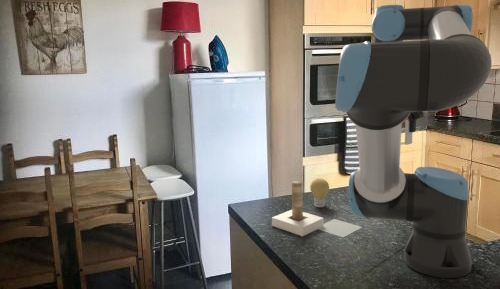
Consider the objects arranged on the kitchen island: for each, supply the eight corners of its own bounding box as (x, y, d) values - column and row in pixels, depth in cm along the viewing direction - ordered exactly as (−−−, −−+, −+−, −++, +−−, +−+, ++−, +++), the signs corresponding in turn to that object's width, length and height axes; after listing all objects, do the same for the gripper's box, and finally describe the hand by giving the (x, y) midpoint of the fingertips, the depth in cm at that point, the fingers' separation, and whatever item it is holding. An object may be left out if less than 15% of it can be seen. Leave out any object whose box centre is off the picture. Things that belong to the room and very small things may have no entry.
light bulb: (329, 210, 142) (329, 181, 140) (310, 209, 143) (310, 181, 141) (328, 203, 148) (328, 176, 146) (310, 203, 149) (310, 176, 147)
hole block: (323, 227, 128) (323, 217, 127) (302, 237, 121) (302, 227, 120) (293, 217, 136) (293, 208, 136) (272, 226, 130) (271, 217, 129)
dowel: (304, 226, 129) (304, 182, 126) (298, 229, 127) (297, 184, 124) (296, 224, 131) (296, 180, 128) (290, 226, 129) (289, 182, 126)
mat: (362, 228, 126) (362, 227, 126) (343, 238, 119) (343, 237, 119) (334, 220, 133) (334, 218, 133) (314, 229, 126) (314, 228, 126)
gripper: (439, 63, 109) (435, 144, 113) (355, 65, 127) (354, 134, 131) (426, 64, 104) (422, 148, 108) (341, 65, 122) (340, 138, 126)
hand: (385, 141), depth 119 cm, fingers open, 13 cm apart
